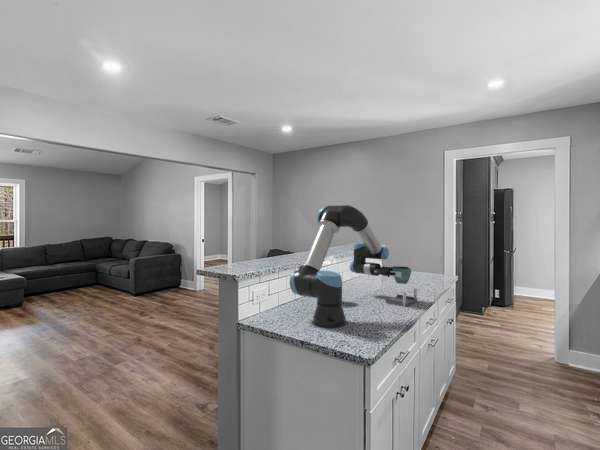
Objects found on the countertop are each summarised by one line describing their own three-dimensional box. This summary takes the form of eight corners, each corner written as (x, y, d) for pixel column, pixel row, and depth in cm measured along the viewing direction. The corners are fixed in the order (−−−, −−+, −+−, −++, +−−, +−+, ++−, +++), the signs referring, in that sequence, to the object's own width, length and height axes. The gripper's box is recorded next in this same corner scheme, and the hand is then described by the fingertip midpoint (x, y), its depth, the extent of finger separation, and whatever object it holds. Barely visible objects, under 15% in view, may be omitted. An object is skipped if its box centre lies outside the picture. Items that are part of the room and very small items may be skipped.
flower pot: (407, 281, 190) (407, 266, 190) (411, 284, 181) (411, 268, 181) (392, 281, 191) (392, 266, 191) (395, 284, 182) (395, 268, 182)
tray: (405, 306, 177) (405, 293, 177) (385, 302, 185) (385, 289, 185) (417, 301, 187) (417, 288, 187) (398, 298, 196) (398, 285, 196)
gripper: (382, 272, 208) (415, 277, 192) (361, 277, 191) (395, 282, 176) (382, 261, 208) (415, 264, 192) (361, 265, 191) (395, 269, 176)
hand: (406, 273), depth 184 cm, fingers closed on flower pot, 11 cm apart
